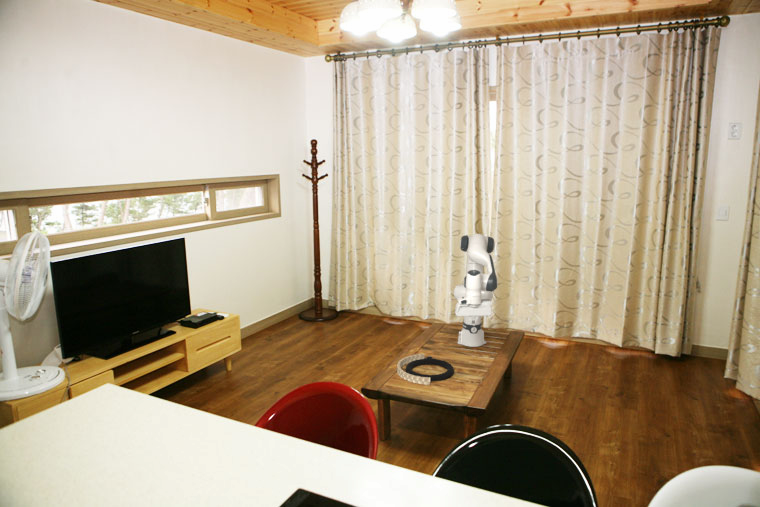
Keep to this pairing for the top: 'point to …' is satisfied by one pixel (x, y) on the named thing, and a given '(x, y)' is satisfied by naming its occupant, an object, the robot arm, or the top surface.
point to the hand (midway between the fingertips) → (473, 323)
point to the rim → (408, 376)
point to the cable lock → (433, 362)
